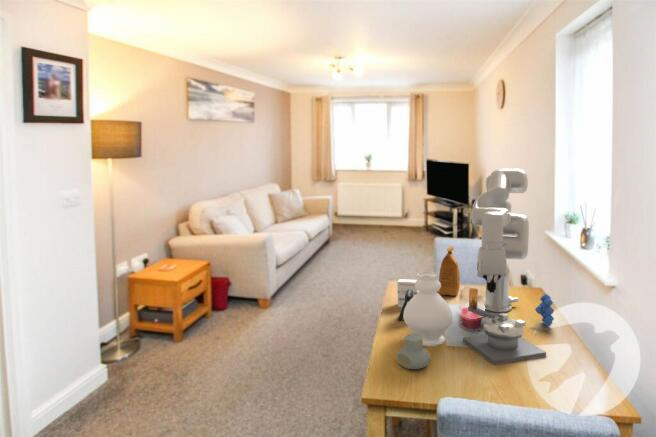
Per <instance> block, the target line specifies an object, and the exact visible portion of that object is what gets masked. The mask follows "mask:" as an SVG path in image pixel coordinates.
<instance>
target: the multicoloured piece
mask: <svg viewBox="0 0 656 437" xmlns="http://www.w3.org/2000/svg"><path fill="white" fill-rule="evenodd" d="M468 292H469V293H468V308H467V309H468V310H467V311H469V312H470V313H473V314H475V315H478V316H480V317H481V323H482V324H483V332H484V334H487V335H488V336H490V337H493V338H497V339H504V340H512V339H518V338H520V337H522V338H523V335H524V327H526V321H525V320H522V319H513V318H510V317H509V314H507V313H506V312H500V313H498V314H497V317H496V315H495V314H494V313H492V312H490V311H487V310H485V309H484V310H483V309H481V308H479V307H478V294H479V293H478V289H477V288H476V287H475V288H474V287H473V288H468Z"/></svg>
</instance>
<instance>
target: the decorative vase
mask: <svg viewBox="0 0 656 437" xmlns="http://www.w3.org/2000/svg"><path fill="white" fill-rule="evenodd" d="M416 276H417V278H418V279H416V280H417V281H416V282H415V288H416V289H417V290H418V293H417V294H416V295H415V296H414V297H413V298H412V299H411V300H410V301H409V302H408V304H407V305H406V307H405V309H404V314H403V317H404V321H405V322H404V321H403V322H404V323H405V325H406V326H407V327H408V329H409V330H410V332H411V333H412V334H417V335H420V336H421V337H422V344H423V346H424V347H436V346H440V345H442V344H444V343H445V341H446V337H445V336H444V333H446V331H447V330H449V328H450V326H451V324H452V323H453V311H452V309H451V307H450V305H449V304H448V303H447V301H446V300H445V299H444V298H443V297H442V295H440V294H439V289H440V288H441V283H440V282H439V274H438V272H435V271H420V272H418V273H417V274H416Z"/></svg>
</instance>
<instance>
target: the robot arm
mask: <svg viewBox="0 0 656 437" xmlns="http://www.w3.org/2000/svg"><path fill="white" fill-rule="evenodd" d="M528 186H529V179H528V175H527V173H526V171H525V170H523V169H520V168H513V169H512V168H500V169H496V170H493V171H491V174H489V175H488V176H487V177H486V179H485V190H486V191H485V192H482V194H480V195H478V197H477V198H475V200H474V202H473V204H472V208H471V213H470V214H471V216H470V217H471V218H470V220H471V223H472V225H473V226H475V227H481V246H480V247H479V248H478V252H477V261H476V271H477V273H476V276H477V277H478V278H482V279H484V280H485V290H484V291H485V293H484V294H485V296H484V297H485V298H484V301H483V302H484V305H485V308H486V310H485V311H487V312H493V313H506V312H509V311H511V310H512V309H513V305H512V303H518V302H519V298H518V297H512V296H509V295H510V294H509V292H510V287H509V285H510V284H509V283H510V267H509V266H508V263H507V260H516V261H517V260H518V261H521V260H525V259H526V258H527V256H528V254H529V237H530V236H529V235H530V234H529V233H530V232H529V231H530V223H529V218H528V217H527V215H525V214H521V213H512V203H511V202H510V200H509V197H510V194H524V193H526V192H527V190H528Z"/></svg>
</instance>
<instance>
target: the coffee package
mask: <svg viewBox="0 0 656 437" xmlns="http://www.w3.org/2000/svg"><path fill="white" fill-rule="evenodd" d="M446 250H447V253H446V255H445V256H444V257H443V259H442V261H441V263H440V264H441V265H440V268H439V274H438V281H439V282H440V283H441V288H440V289H439V290H438V294H439V295H440V296H458V295H459V291H460V284H461V281H460V280H461V275H460V273H461V272H460V268H459V267H460V265H459V264H458V261H457V259H456V258H455V257H454V254H453V251H454V250H455V247H454V246H453V245H452V246H449V247H448V248H447V249H446Z"/></svg>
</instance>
